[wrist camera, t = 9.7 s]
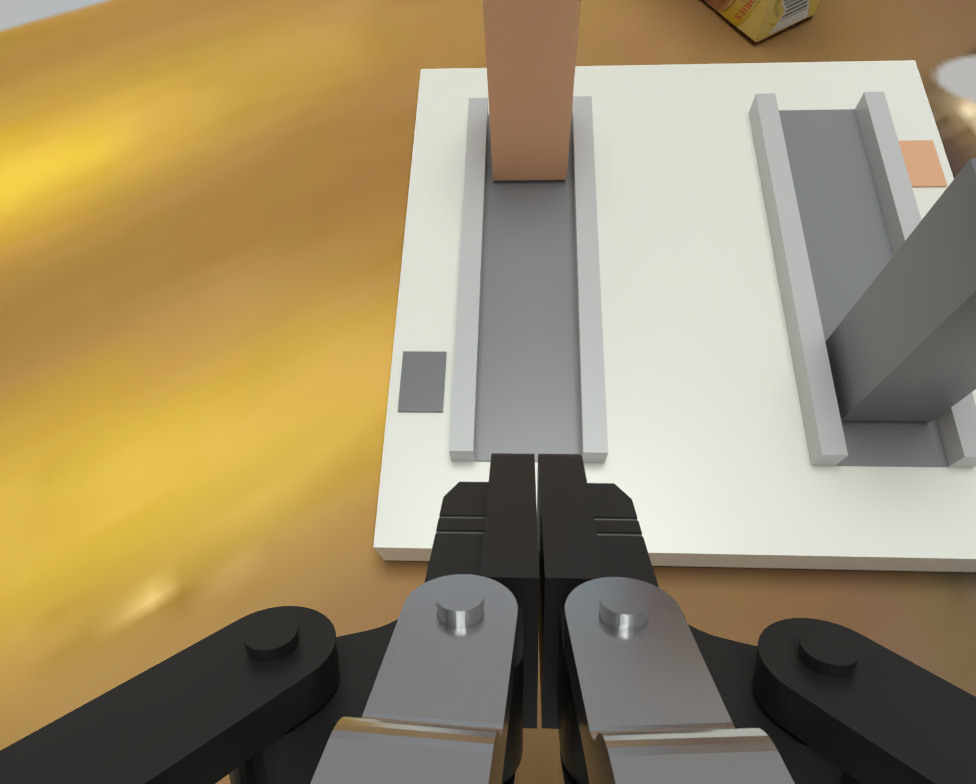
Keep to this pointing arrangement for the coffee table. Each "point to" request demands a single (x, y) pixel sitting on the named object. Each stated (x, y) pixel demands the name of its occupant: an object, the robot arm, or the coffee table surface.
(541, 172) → the tan switch lever
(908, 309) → the dark grey upright bar
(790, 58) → the coffee table surface
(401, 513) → the switch panel
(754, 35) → the candy box
